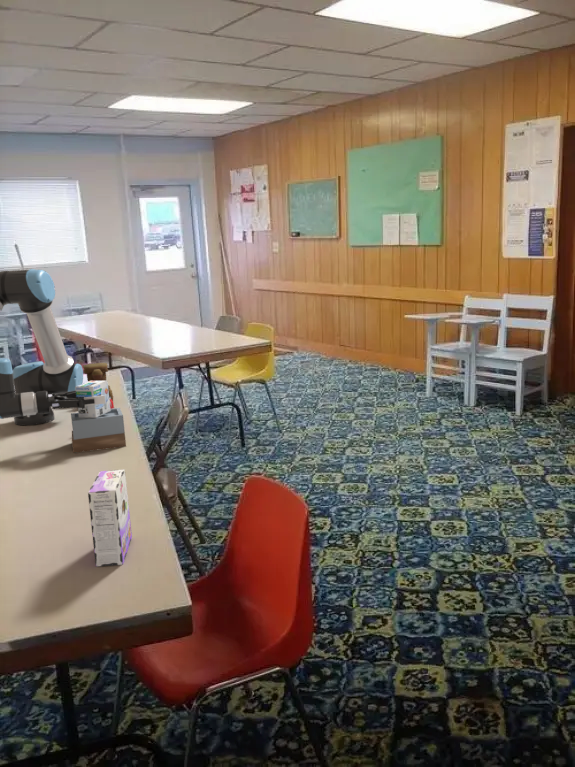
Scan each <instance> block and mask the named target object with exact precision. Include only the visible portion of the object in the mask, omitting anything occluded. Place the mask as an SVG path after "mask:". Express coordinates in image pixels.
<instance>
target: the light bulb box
mask: <svg viewBox="0 0 575 767" xmlns="http://www.w3.org/2000/svg"><path fill="white" fill-rule="evenodd" d="M108 385H109V382H108V380H106V381H88V380H87V381H86V382H83V383H82V384H81V385H78V386H76V387H75V389H76V397H77V398H84V397H92V396H102V395H105V404H98V405H89V406H85V408H84V409H82V408H77V413H78V415H79V418H97V417H99V416H101V415H103V414H105V413H107V412H109V411H111V410H110V401H109V391H108Z"/></svg>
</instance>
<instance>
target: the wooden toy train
mask: <svg viewBox="0 0 575 767" xmlns="http://www.w3.org/2000/svg"><path fill="white" fill-rule="evenodd" d="M82 369H83V375H86V379H87V382H88V381H107V372H109V369H108V363H106V362H97V363H88V364H83V366H82ZM108 391H109V397H111V400H112V401H113V402H114V394H113V390H112V389H111V386H110V384H108Z"/></svg>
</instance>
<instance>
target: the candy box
mask: <svg viewBox="0 0 575 767" xmlns="http://www.w3.org/2000/svg"><path fill="white" fill-rule="evenodd" d="M87 496H88V505H89V514H90V525H91V533H92V542H93V543H92V546H93V551H94V553H93V554H94V563H95V567H108V566H110V567H112V566H113V567H114V566H122V565H124V563H125V560H126V556H127V554H128V551H129V547H130V544H131V541H132V539H133V533H132V526H131V525H132V522H131V514H130V506H129V495H128V487H127V477H126V469H114V470H113V469H112V470H102V471H99V472H98V474H97V475H96V478H95V479H94V481H93V483H92V485H91V487H90V488H89V490H88V492H87Z"/></svg>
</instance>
